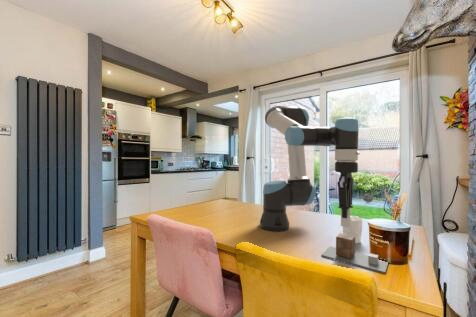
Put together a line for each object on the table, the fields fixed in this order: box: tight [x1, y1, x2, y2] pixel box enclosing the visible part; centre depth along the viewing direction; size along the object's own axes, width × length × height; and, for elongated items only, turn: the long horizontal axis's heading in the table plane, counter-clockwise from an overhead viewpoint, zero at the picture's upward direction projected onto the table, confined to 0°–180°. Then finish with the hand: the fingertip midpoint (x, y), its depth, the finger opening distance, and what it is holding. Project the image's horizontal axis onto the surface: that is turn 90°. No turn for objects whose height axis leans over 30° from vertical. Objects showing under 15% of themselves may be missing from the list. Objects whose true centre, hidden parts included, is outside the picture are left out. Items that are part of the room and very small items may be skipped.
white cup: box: [342, 215, 363, 244], centre depth 101 cm, size 8×8×10 cm
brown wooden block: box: [335, 232, 356, 259], centre depth 85 cm, size 5×5×7 cm
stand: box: [320, 246, 389, 275], centre depth 83 cm, size 20×10×3 cm, turn 51°
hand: (345, 225), depth 85 cm, fingers closed
